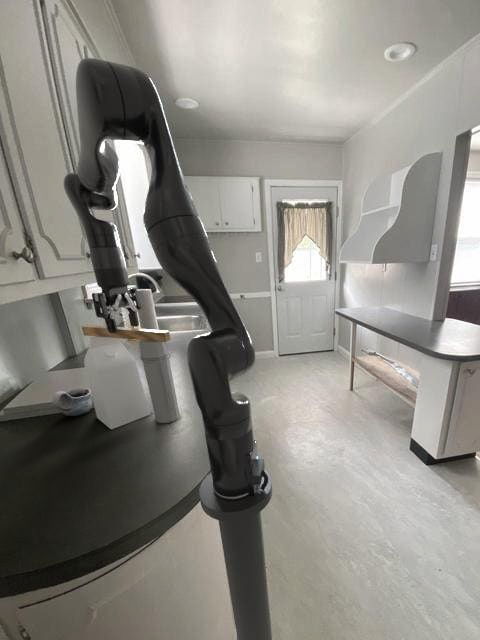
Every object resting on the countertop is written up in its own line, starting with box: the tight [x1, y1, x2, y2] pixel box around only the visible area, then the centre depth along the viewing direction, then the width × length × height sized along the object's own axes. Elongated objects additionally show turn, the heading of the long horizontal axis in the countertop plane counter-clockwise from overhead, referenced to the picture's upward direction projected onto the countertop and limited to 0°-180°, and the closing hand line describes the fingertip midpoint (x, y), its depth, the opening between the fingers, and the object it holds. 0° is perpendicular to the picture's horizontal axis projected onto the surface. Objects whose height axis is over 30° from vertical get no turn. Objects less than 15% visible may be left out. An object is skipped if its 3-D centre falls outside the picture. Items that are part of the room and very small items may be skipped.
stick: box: [81, 324, 171, 343], centre depth 84 cm, size 26×2×3 cm, turn 78°
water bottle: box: [138, 340, 181, 424], centre depth 88 cm, size 9×8×25 cm
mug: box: [51, 387, 94, 417], centre depth 96 cm, size 10×12×10 cm
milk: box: [83, 336, 152, 430], centre depth 92 cm, size 12×12×26 cm
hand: (124, 329), depth 84 cm, fingers open, 8 cm apart
